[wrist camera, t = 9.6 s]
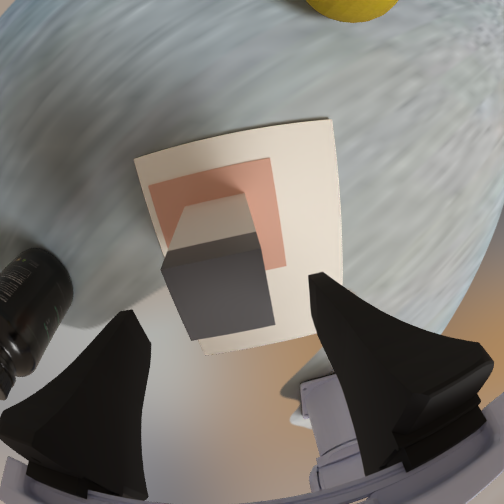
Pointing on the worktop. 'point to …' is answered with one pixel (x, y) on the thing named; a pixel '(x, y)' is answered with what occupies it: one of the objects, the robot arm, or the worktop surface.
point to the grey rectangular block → (218, 270)
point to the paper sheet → (260, 210)
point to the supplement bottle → (30, 312)
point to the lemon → (352, 9)
